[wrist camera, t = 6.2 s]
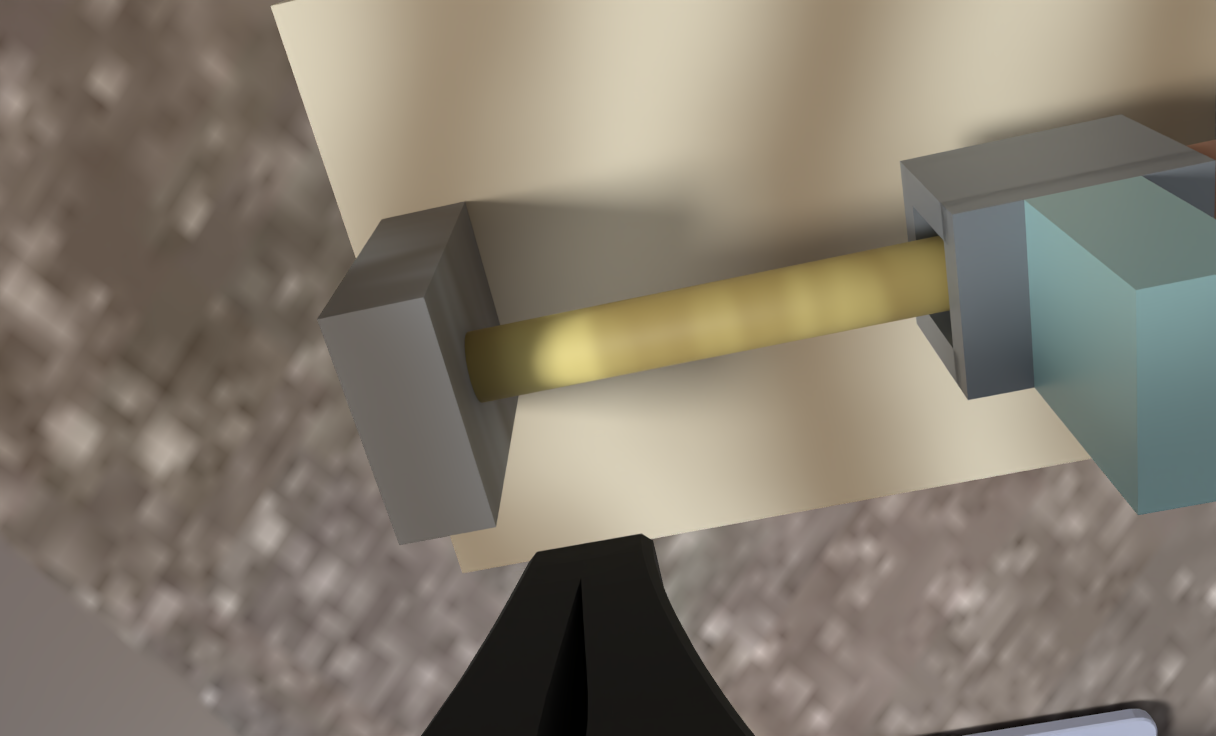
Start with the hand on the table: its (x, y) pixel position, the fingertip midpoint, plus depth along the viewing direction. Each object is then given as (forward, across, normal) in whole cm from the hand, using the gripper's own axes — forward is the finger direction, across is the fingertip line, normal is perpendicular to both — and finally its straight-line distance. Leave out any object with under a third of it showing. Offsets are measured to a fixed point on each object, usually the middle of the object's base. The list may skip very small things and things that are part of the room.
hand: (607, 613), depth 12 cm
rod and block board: (+10, -5, -1) cm, 11 cm away
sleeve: (+8, -7, -1) cm, 11 cm away
